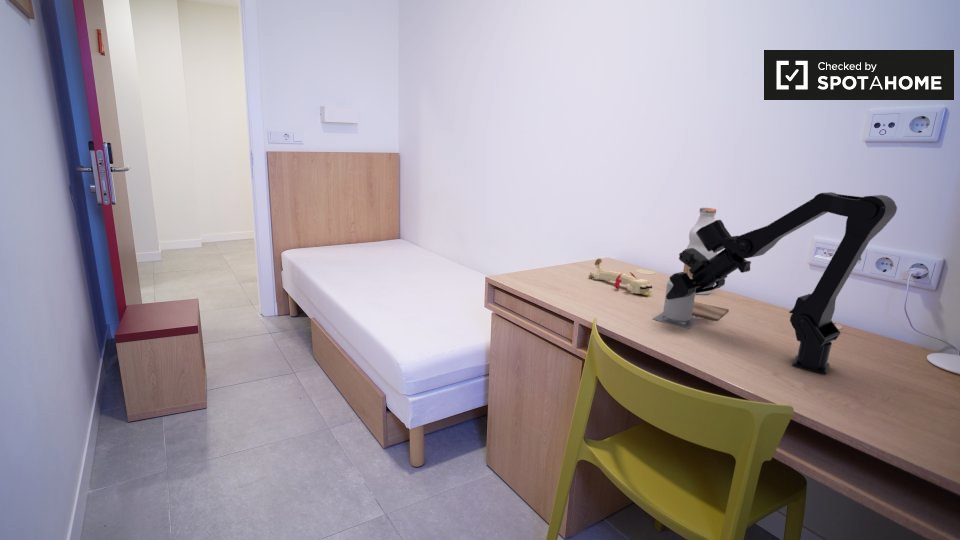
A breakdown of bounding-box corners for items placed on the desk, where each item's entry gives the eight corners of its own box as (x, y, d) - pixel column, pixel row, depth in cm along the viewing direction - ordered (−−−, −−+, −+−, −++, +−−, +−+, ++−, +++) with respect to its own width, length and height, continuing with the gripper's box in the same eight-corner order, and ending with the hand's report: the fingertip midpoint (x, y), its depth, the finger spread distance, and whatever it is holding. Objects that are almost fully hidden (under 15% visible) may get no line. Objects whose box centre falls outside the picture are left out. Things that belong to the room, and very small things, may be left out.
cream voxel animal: (584, 283, 176) (638, 297, 155) (584, 259, 175) (640, 270, 154) (604, 280, 181) (660, 293, 160) (605, 256, 180) (661, 267, 159)
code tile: (689, 328, 132) (689, 328, 132) (652, 319, 138) (652, 318, 138) (700, 319, 139) (700, 319, 139) (665, 311, 145) (665, 310, 145)
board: (717, 321, 138) (717, 319, 138) (674, 311, 145) (674, 309, 145) (728, 311, 147) (728, 309, 147) (687, 302, 154) (687, 300, 154)
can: (693, 325, 134) (700, 282, 131) (664, 322, 136) (670, 280, 132) (687, 316, 141) (694, 275, 138) (660, 313, 143) (666, 273, 140)
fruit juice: (674, 287, 170) (686, 206, 163) (698, 286, 172) (711, 206, 165) (692, 295, 161) (705, 210, 154) (716, 294, 164) (730, 210, 157)
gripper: (721, 237, 135) (679, 267, 146) (681, 243, 124) (639, 275, 136) (744, 272, 131) (700, 300, 142) (705, 281, 120) (660, 311, 131)
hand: (675, 295), depth 138 cm, fingers closed on can, 7 cm apart
